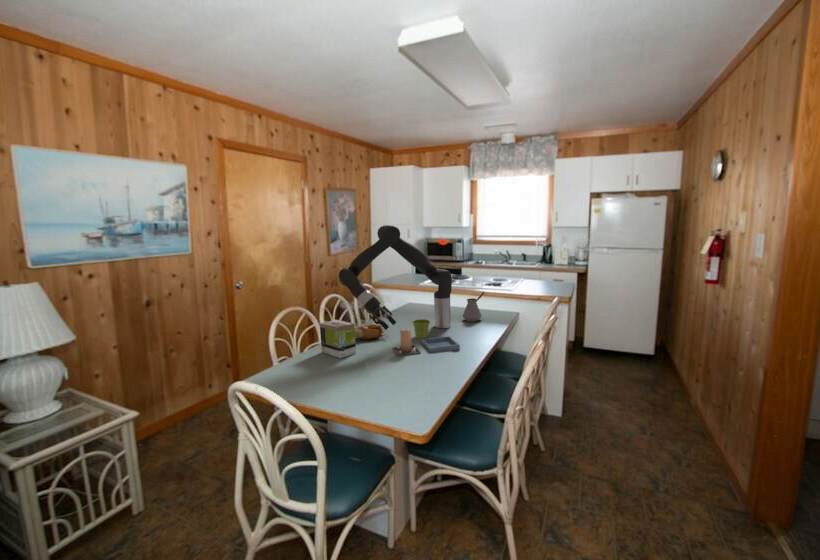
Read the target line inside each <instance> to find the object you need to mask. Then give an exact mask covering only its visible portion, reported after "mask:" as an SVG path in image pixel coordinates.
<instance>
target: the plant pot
mask: <svg viewBox="0 0 820 560" xmlns="http://www.w3.org/2000/svg"><path fill="white" fill-rule="evenodd" d="M430 323H431V321H430V320H429V319H425V318H424V319H419V318H418V319H414V320H413V321H412V324H413V327H414V334H415V338H417V339H427V338H428V334H429V326H430Z"/></svg>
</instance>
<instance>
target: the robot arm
mask: <svg viewBox="0 0 820 560" xmlns="http://www.w3.org/2000/svg"><path fill="white" fill-rule="evenodd" d="M376 234H377V237H378V240H377V241H376V242H375V243H373V244H371V246H368V247H367V248H365V249H364V250H363V251H362V252H360V253H359V254H358V255H357V256H356V257H355V258H354V259H353V260H352V261H351V262H350V265H349V266H348V267H347V268H346V267H344V268H342V269H341V270H339V272H338V280H339V283H340V284H341V285H342V286H345V287H347V289H348V290H349V292H350V293H351V295H352V296H353V297H354V298H355V299H356V300H357V301H358V304H360V306H362V308H364V310H365V311H366V312H367V313H368V314H369V315H368V316H369V317H370V319H371V320H372V321H373V322H374V324H378V325H381V326H382V328H384V329H383V330H384V331H385V330H386V331H388V329H389V327H390V326H389V324H387V323H386V322H385V321H384V319H386V320H388V322H390V324H391V325H393V326H395V325H396V324H397V320H395V319H394V318H393V316H392V315H393V313H392V312H391V311H390V310H389V308H387V307H386V305H383V306H381V301H379V299H378V298H377V297H376V296H375V295H374V294H373V293H372V292H371V291H370V290H368V288H366V286H365V285H364V284H363V283H362V282H361V281H360V279H359V278H358V277H359V275H360V274H361V273H362V272H363V271H365V269H366V268H367V267H368V266H369V265H370V264H371V263H373V262H374V261H375V259H376V258H378V257H379V256H380V255H381V254H383V253H384V252H385V251H386V250H387V249H389V248H391V249H392V250H394V251H395V252H396V253H397V254H399V256H401V257H402V258H403V259H404V260H406V262H408V263H409V264H410V265H411V266H413V268H416V269H417V270H418V271H420V272H421V273H422V274H424V275H425V277H427V279H428V280H429V281H431V282H432V283H433V284H434V285H436V286H438V288H437V291H434V293H433V303H434V306H433V307H434V327H435V328H437V329H448V328H451V325H452V324H451V321H452V319H451V318H452V317H451V315H452V314H451V293H452V285H453V283H452V282H453V278H452V273H451V271H449V270H447V269H443V268H438V267H437V266H435V265H434V264H432V263H431V261H430V260H429V259H428V256H427V255H426V253H424V251H422V250H421V249H420V248H419V247H417V246H416V245H414V244H412V243H410V242H408V241H406V240H405V239H403V238H401V231H400V229H399V228H398V227H397V226H396V225H386V224H385V225H382V226H380V227H379V228H378V229H377V233H376Z"/></svg>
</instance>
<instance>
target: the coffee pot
mask: <svg viewBox="0 0 820 560" xmlns="http://www.w3.org/2000/svg"><path fill="white" fill-rule="evenodd" d="M486 294H487V293H486V292H485V291H483V292H482V293H481V294H480V295H478V297H477V298H475V297H473V298H466V301H467V304H466V305H465V309H464V311H463V313H462V318H463V319H464V320H465V321H466V322H470V323H472V322H473V323H475V322H478V321H479V320H481V318H482V316H483V315H482V312H481V311H480V308H479V306H478V304H477V302H479V300H480V299H481V298H482V296H485V295H486Z"/></svg>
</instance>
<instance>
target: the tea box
mask: <svg viewBox="0 0 820 560" xmlns="http://www.w3.org/2000/svg"><path fill="white" fill-rule="evenodd" d="M355 328H356V327H355V323H353V322H348V321H345V320H340V319H333V320H328V321H324V322H321V323H319V332H320V344H321V345H320V346H321V353H324V354H326V355H329V356H332V357H334V358H339V359H344V358H346V357H348V356H351V355H354V354H356V353H357V345H356V337H355Z"/></svg>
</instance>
